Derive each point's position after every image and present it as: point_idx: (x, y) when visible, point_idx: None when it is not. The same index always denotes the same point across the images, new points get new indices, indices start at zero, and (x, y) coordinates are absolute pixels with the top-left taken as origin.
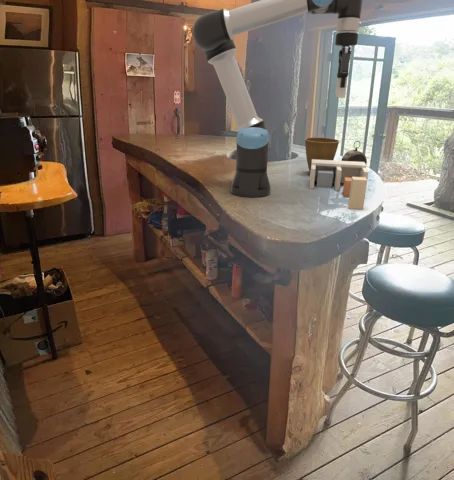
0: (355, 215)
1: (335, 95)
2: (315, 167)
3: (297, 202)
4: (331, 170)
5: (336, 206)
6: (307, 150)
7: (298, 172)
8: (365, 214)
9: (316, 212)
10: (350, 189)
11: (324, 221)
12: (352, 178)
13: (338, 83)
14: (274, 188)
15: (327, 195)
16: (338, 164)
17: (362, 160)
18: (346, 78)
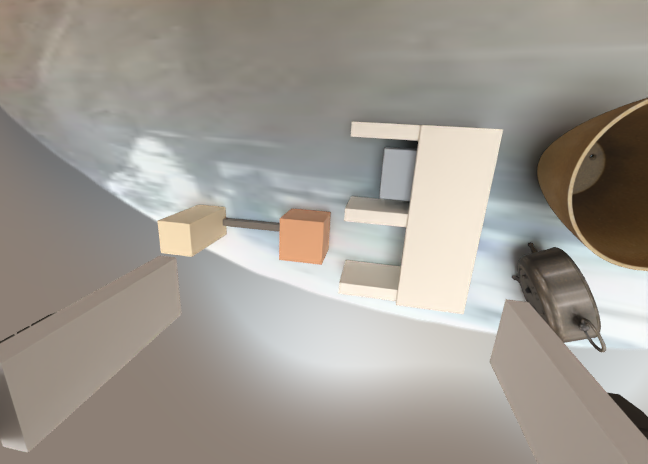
0: (157, 208)
1: (507, 305)
2: (377, 137)
3: (209, 85)
4: None
5: (205, 179)
6: (614, 109)
7: (617, 89)
8: None
9: (149, 129)
10: (201, 215)
11: (101, 141)
12: (174, 222)
13: (571, 425)
14: (339, 5)
15: (293, 169)
16: (408, 221)
17: None
18: (7, 433)
